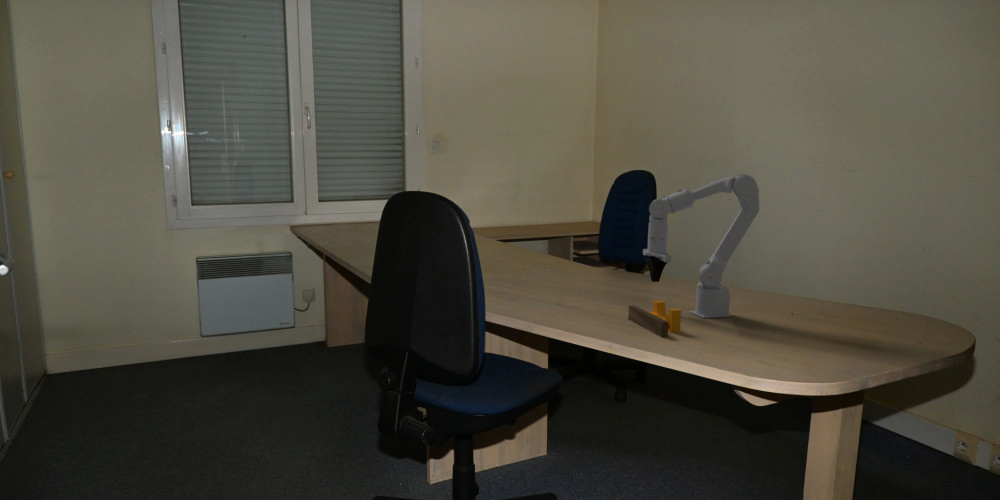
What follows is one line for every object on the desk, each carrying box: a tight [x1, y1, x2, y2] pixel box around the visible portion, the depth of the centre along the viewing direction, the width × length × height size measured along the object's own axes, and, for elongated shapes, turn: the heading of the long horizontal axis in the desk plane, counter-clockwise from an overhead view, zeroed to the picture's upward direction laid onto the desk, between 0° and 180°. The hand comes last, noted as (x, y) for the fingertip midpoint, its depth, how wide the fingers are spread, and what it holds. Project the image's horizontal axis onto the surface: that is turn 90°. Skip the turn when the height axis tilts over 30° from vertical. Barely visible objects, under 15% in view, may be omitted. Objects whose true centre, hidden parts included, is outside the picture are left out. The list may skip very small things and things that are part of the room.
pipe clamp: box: [648, 300, 682, 334], centre depth 189 cm, size 12×4×6 cm, turn 11°
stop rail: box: [627, 305, 669, 338], centre depth 188 cm, size 2×20×4 cm, turn 14°
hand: (655, 281), depth 207 cm, fingers closed
